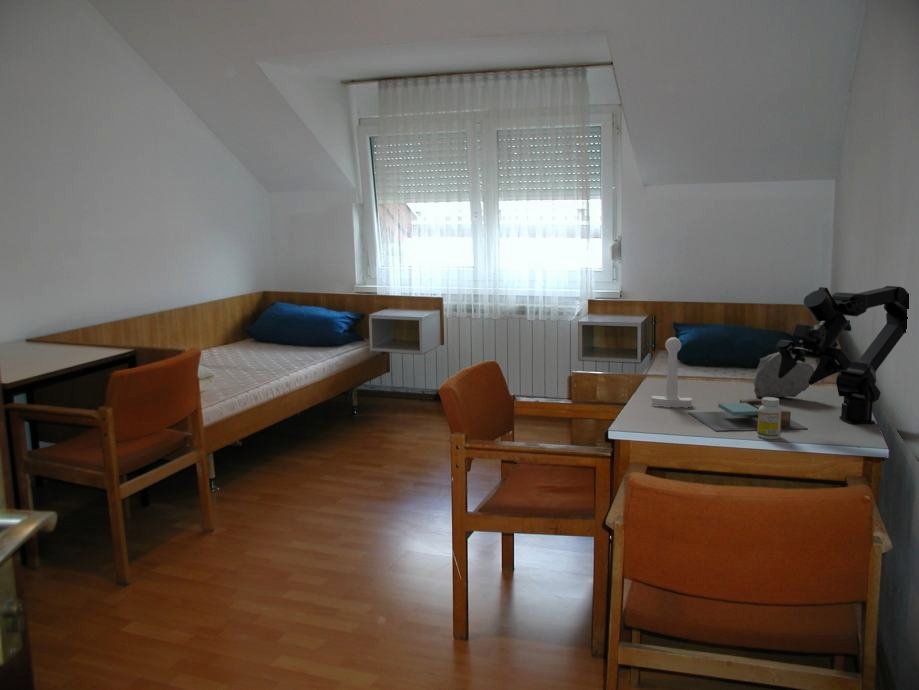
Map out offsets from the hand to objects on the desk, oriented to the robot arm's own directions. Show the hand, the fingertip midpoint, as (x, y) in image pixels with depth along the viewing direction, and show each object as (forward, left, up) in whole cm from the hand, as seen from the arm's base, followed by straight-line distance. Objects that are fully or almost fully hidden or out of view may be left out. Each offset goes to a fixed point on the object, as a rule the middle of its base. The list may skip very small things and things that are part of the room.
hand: (794, 380), depth 200 cm
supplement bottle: (+7, +3, -14) cm, 16 cm away
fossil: (-17, -39, -14) cm, 44 cm away
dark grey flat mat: (+6, -13, -13) cm, 19 cm away
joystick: (+19, -34, -14) cm, 41 cm away
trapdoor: (+5, -13, -12) cm, 18 cm away
